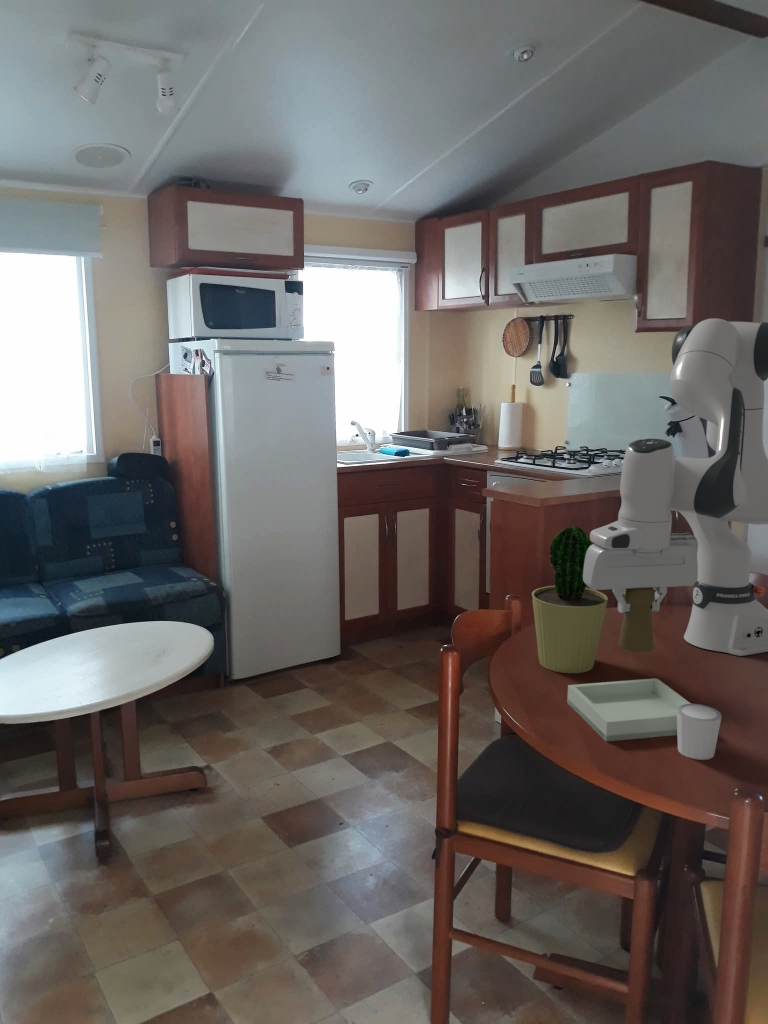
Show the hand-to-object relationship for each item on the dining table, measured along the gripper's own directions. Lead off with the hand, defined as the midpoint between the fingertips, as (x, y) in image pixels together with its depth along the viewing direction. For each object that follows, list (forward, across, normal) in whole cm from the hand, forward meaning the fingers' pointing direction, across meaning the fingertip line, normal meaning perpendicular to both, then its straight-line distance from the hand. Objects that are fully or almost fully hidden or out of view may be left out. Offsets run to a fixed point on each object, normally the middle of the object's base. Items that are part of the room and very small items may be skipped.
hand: (638, 611), depth 146 cm
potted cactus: (+20, +1, -27) cm, 33 cm away
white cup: (+20, -4, +14) cm, 25 cm away
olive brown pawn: (+6, 0, 0) cm, 6 cm away
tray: (+20, 0, 0) cm, 20 cm away
